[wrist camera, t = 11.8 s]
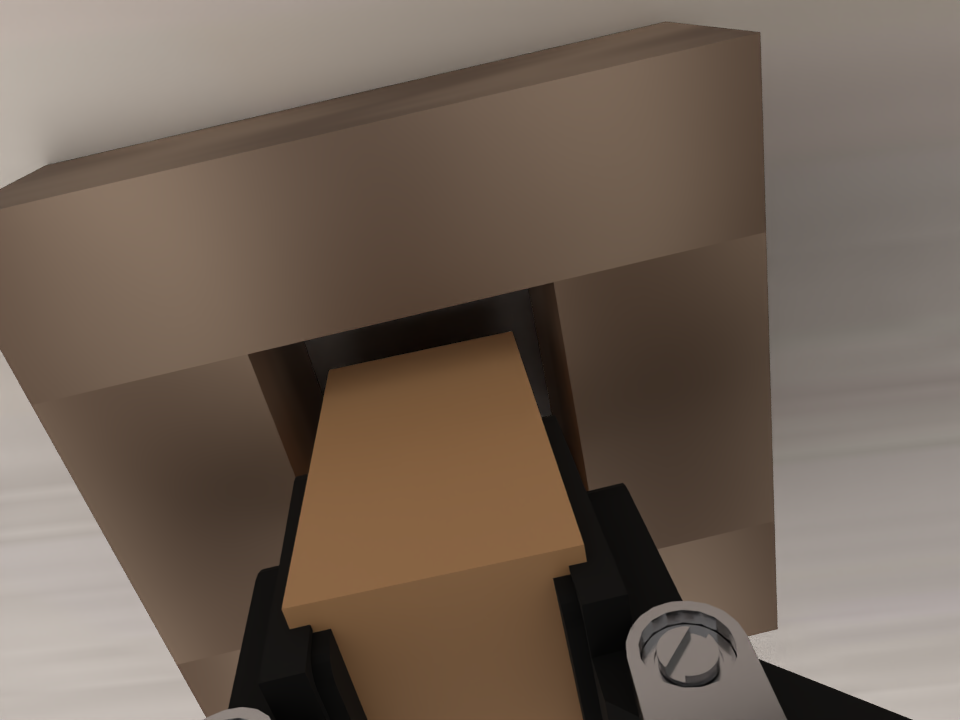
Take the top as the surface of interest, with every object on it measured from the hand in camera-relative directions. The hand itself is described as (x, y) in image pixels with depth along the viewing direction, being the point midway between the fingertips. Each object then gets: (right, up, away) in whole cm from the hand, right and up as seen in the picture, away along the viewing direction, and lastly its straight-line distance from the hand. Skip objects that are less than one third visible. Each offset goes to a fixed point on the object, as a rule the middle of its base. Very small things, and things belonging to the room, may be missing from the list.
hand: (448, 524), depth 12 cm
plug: (0, +1, +3) cm, 3 cm away
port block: (-1, +2, +5) cm, 5 cm away
